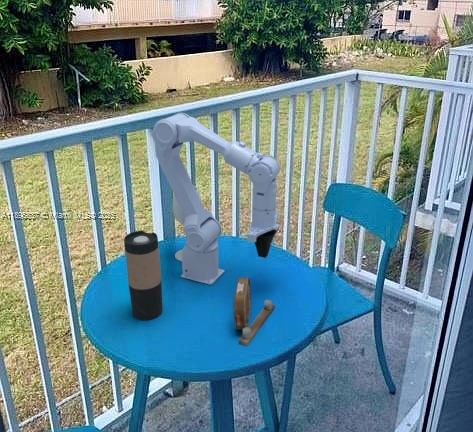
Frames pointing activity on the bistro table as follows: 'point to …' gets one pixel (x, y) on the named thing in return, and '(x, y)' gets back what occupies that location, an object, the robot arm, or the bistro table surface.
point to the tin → (242, 302)
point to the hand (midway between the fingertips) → (262, 256)
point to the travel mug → (144, 274)
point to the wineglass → (180, 218)
